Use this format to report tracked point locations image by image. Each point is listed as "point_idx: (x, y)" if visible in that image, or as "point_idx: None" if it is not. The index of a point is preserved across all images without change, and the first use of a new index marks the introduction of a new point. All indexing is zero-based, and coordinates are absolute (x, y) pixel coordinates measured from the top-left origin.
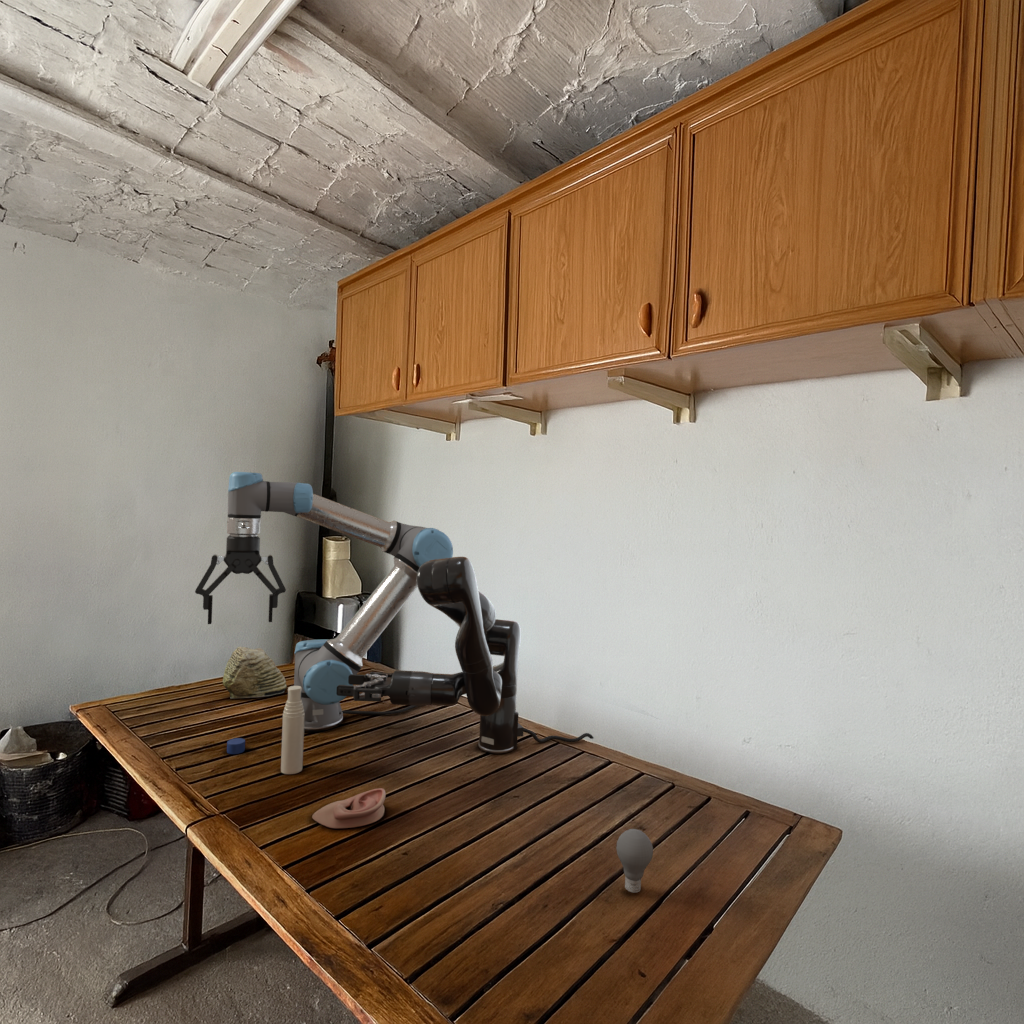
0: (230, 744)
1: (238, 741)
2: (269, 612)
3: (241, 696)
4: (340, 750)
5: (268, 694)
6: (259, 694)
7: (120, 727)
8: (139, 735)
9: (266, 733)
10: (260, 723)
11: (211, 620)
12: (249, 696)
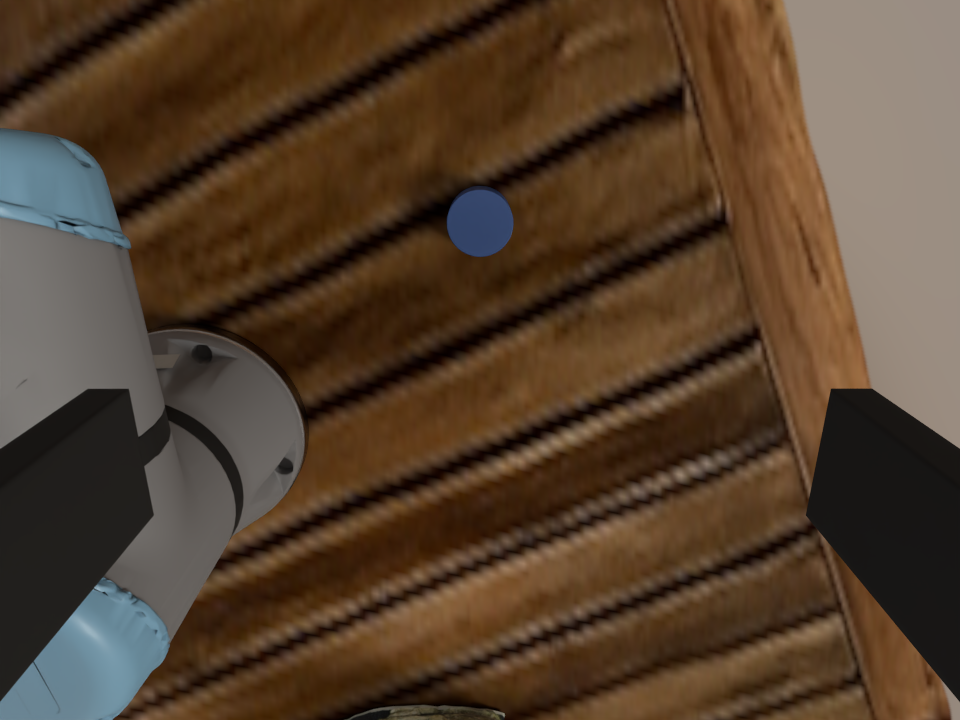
0: (500, 196)
1: (471, 218)
2: (43, 450)
3: (467, 712)
4: (84, 105)
5: (376, 713)
6: (406, 713)
7: None
8: (790, 457)
9: (375, 363)
10: (398, 466)
11: (839, 453)
12: (440, 711)
